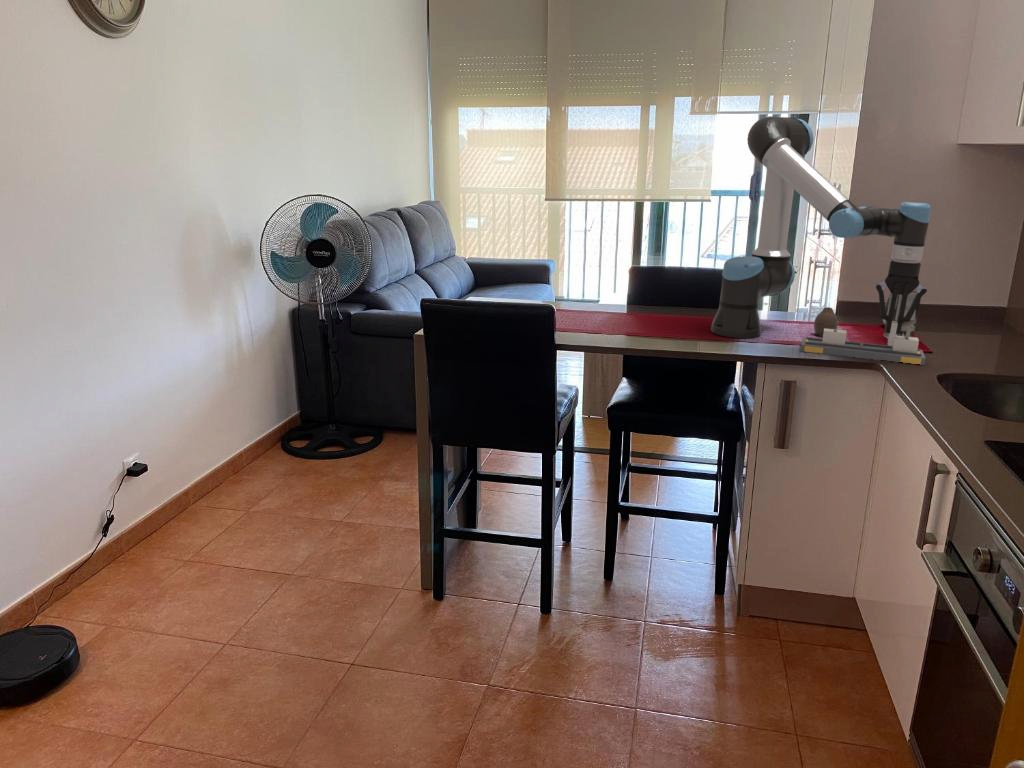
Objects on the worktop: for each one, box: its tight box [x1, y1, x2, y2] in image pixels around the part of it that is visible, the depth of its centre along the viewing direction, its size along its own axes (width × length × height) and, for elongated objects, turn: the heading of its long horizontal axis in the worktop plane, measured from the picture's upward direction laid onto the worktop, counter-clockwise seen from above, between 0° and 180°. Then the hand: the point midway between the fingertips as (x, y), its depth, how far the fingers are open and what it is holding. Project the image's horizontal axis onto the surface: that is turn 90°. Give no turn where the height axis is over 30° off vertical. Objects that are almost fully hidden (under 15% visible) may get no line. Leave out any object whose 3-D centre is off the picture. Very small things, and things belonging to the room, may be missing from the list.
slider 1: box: [822, 328, 847, 345], centre depth 217 cm, size 6×4×4 cm, turn 67°
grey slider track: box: [800, 336, 927, 366], centre depth 215 cm, size 32×10×3 cm, turn 67°
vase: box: [813, 306, 839, 337], centre depth 236 cm, size 7×7×9 cm
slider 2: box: [892, 336, 920, 353], centre depth 210 cm, size 6×4×4 cm, turn 67°
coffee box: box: [883, 288, 922, 339], centre depth 229 cm, size 9×6×16 cm
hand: (890, 344), depth 212 cm, fingers closed
